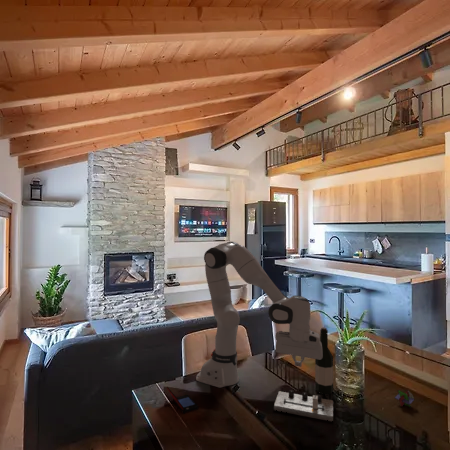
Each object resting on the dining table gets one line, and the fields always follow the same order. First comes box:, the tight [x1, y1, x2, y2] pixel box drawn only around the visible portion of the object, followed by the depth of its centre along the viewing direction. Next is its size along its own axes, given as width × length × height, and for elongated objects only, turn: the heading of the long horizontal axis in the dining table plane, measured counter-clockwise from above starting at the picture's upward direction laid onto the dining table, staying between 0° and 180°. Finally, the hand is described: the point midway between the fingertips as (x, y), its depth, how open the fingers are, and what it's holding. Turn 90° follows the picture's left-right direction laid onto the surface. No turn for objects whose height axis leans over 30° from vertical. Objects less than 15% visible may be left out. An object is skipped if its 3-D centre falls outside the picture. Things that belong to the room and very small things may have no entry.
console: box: [273, 389, 334, 422], centre depth 134 cm, size 24×13×4 cm, turn 71°
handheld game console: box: [166, 386, 199, 414], centre depth 135 cm, size 12×11×7 cm
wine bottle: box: [314, 326, 334, 395], centre depth 150 cm, size 8×8×30 cm
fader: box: [312, 394, 318, 409], centre depth 131 cm, size 2×3×4 cm, turn 160°
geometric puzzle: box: [394, 389, 416, 408], centre depth 137 cm, size 7×7×8 cm
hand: (298, 365), depth 134 cm, fingers closed
